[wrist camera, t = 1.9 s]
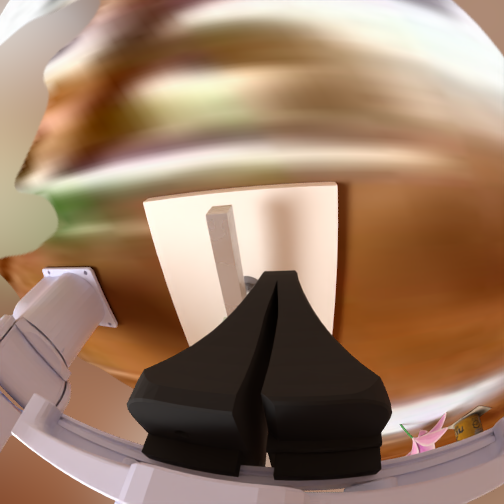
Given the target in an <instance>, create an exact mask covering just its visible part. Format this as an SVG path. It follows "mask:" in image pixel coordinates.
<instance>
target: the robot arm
mask: <svg viewBox="0 0 504 504" xmlns="http://www.w3.org/2000/svg"><path fill="white" fill-rule="evenodd" d="M42 272H43V274H44V276H45V277H44V278H43V279H42V280H41V281H40V282H38V283H37V284H36V285H35V286H34V287H33V288H32V289H31V290H30V291H29V292H28V293H27V294H26V295H25V296H24V297H23V298H22V299H21V300H20V301H19V302H18V303H17V305H16V307H15V309H14V312H13V316H12V315H10V316H9V315H4V316H3V317H2V318H0V386H1V387H2V388H3V389H4V390H5V391H6V392H7V393H8V394H9V395H10V396H11V397H12V398H13V399H14V400H15V401H16V402H17V403H18V404H19V405H20V406H21V407H23V409H24V411H23V410H20V409H19V408H17V407H16V406H15V405H14V404H13V403H12V402H11V401H10V400H9V399H8V398H7V397H6V396H5V395H4V394H3V393H2V392H1V391H0V452H1V450H2V449H3V447H4V445H5V444H6V442H7V440H8V439H9V437H10V436H11V435H14V436H15V437H17V438H18V439H19V440H20V441H21V442H22V443H24V444H25V445H26V446H27V447H29V448H30V449H31V450H33V451H34V452H36V453H37V454H38V455H39V456H41V457H42V458H44V459H45V460H46V461H48V462H49V463H51V464H52V465H53V466H55V467H56V468H58V469H60V470H61V471H63V472H64V473H66V474H67V475H69V476H71V477H72V478H74V479H75V480H77V481H79V482H81V483H82V484H84V485H86V486H88V487H90V488H91V489H93V490H95V491H97V492H99V493H101V494H103V495H105V496H107V497H109V498H111V499H113V500H115V503H114V504H466V503H468V502H470V501H472V500H474V499H477V498H479V497H480V496H483V495H485V494H486V493H488V492H490V491H492V490H494V489H496V488H497V487H499V486H501V485H502V484H504V417H502V418H501V419H500V420H499V421H498V422H497V423H496V424H495V425H494V427H493V428H491V429H488V430H486V431H484V432H481V433H479V434H476V435H474V436H471V437H469V438H466V439H463V440H461V441H458V442H455V443H452V444H449V445H446V446H443V447H439V448H436V449H432V450H429V451H425V452H421V453H417V454H413V455H409V456H405V457H400V458H395V459H390V460H384V461H381V455H380V447H381V446H382V436H381V432H382V431H383V429H384V427H385V426H386V424H387V423H388V421H389V419H390V417H391V414H392V410H391V403H390V400H389V397H388V394H387V391H386V389H385V386H384V384H383V382H382V380H381V378H380V377H379V376H378V375H376V374H375V373H374V372H372V371H371V370H369V369H368V368H367V367H365V366H364V365H363V364H361V363H360V362H359V361H358V360H357V359H355V358H354V357H353V356H352V355H351V354H350V353H349V352H348V351H347V350H346V349H345V348H344V347H343V346H342V345H341V344H340V343H339V342H338V341H337V340H336V339H335V338H334V337H333V336H332V335H331V333H330V332H329V331H328V330H327V329H326V327H325V326H324V325H323V323H322V322H321V321H320V319H319V318H318V316H317V315H316V313H315V312H314V310H313V308H312V307H311V305H310V303H309V302H308V300H307V298H306V296H305V294H304V292H303V290H302V287H301V285H300V282H299V279H298V274H297V272H296V271H295V270H288V271H264V272H263V273H262V275H261V276H260V278H259V279H258V281H257V282H256V284H255V285H254V286H253V288H252V289H251V290H250V292H249V293H248V294H247V295H246V297H245V298H244V299H243V301H242V302H241V303H240V304H239V305H238V306H237V307H236V308H235V310H234V311H233V312H232V313H231V314H230V315H229V316H228V317H227V318H226V319H225V320H224V321H223V322H222V323H221V324H220V325H218V326H217V327H216V328H215V329H214V330H213V331H211V332H210V333H209V334H207V335H206V336H205V337H203V338H202V339H200V340H199V341H198V342H196V343H195V344H193V345H192V346H190V347H189V348H187V349H185V350H184V351H182V352H180V353H178V354H176V355H175V356H173V357H171V358H169V359H167V360H165V361H163V362H160V363H158V364H156V365H154V366H151V367H149V368H147V369H144V371H143V373H142V374H141V376H140V378H139V379H138V381H137V384H136V386H135V388H134V390H133V392H132V394H131V397H130V398H129V401H128V403H127V407H128V410H129V412H130V413H131V415H132V416H133V417H134V418H135V420H136V421H137V422H138V423H139V424H140V425H141V426H142V427H143V428H144V429H145V430H146V431H147V432H148V436H147V439H146V441H145V444H144V445H141V444H137V443H134V442H131V441H128V440H125V439H122V438H120V437H117V436H114V435H111V434H109V433H106V432H103V431H101V430H98V429H96V428H94V427H91V426H89V425H87V424H84V423H82V422H80V421H77V420H75V419H73V418H71V417H69V416H67V415H65V414H63V411H64V410H65V408H66V407H67V405H68V403H69V400H70V397H71V384H70V382H69V380H68V378H69V377H70V375H71V372H70V371H69V369H68V367H69V366H70V365H71V363H72V361H73V360H74V359H75V357H76V356H77V354H78V353H79V351H80V350H81V349H82V347H83V346H84V344H85V343H86V341H87V340H88V339H89V337H90V336H91V335H92V333H93V332H94V330H95V329H96V328H97V326H98V325H100V326H107V327H117V326H118V323H117V321H116V319H115V317H114V315H113V313H112V311H111V309H110V307H109V305H108V302H107V300H106V298H105V296H104V294H103V292H102V289H101V287H100V285H99V283H98V280H97V278H96V276H95V273H94V271H93V269H92V268H90V267H60V268H44V269H43V270H42ZM266 453H268V455H269V459H270V463H271V466H272V467H265V462H266ZM341 488H345V489H344V492H324V493H323V492H319V493H318V492H304V490H328V489H341Z"/></svg>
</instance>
